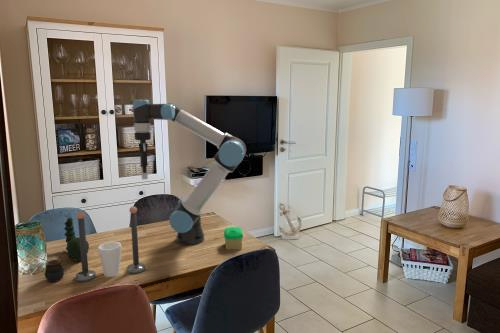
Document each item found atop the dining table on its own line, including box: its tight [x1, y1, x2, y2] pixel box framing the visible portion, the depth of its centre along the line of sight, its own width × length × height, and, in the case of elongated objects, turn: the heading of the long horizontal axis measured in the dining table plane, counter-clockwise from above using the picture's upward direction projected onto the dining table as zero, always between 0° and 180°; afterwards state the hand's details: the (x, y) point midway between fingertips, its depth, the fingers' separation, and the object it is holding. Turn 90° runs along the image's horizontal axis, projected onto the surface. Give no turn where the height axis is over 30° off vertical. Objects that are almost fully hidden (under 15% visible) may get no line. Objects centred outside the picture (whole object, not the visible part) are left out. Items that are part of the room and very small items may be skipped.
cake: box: [223, 226, 244, 250], centre depth 197 cm, size 10×11×10 cm
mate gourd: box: [44, 258, 65, 283], centre depth 161 cm, size 7×8×10 cm
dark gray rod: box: [76, 211, 89, 274], centre depth 161 cm, size 3×3×28 cm
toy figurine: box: [63, 217, 90, 262], centre depth 183 cm, size 9×19×25 cm
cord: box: [129, 206, 140, 266], centre depth 168 cm, size 3×3×28 cm
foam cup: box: [97, 241, 123, 278], centre depth 166 cm, size 10×9×13 cm
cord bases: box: [74, 262, 146, 283], centre depth 167 cm, size 29×8×2 cm, turn 111°
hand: (144, 178), depth 189 cm, fingers closed
